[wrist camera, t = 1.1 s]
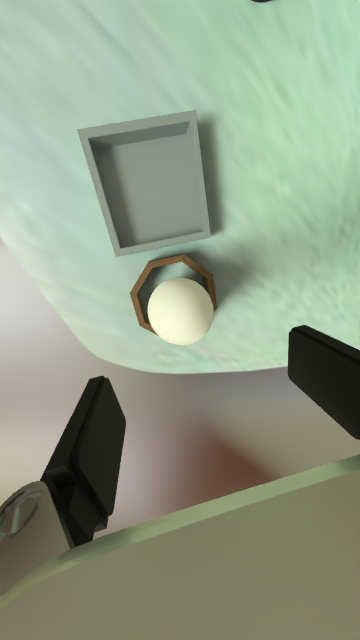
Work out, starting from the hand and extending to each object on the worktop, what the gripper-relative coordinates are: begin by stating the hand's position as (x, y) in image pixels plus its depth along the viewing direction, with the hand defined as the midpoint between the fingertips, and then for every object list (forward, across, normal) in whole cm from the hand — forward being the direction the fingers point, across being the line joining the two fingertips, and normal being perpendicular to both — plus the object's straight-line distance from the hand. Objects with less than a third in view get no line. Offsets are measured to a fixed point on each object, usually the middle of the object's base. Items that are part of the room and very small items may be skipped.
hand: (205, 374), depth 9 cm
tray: (+18, 0, -12) cm, 21 cm away
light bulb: (+18, 0, 0) cm, 18 cm away
